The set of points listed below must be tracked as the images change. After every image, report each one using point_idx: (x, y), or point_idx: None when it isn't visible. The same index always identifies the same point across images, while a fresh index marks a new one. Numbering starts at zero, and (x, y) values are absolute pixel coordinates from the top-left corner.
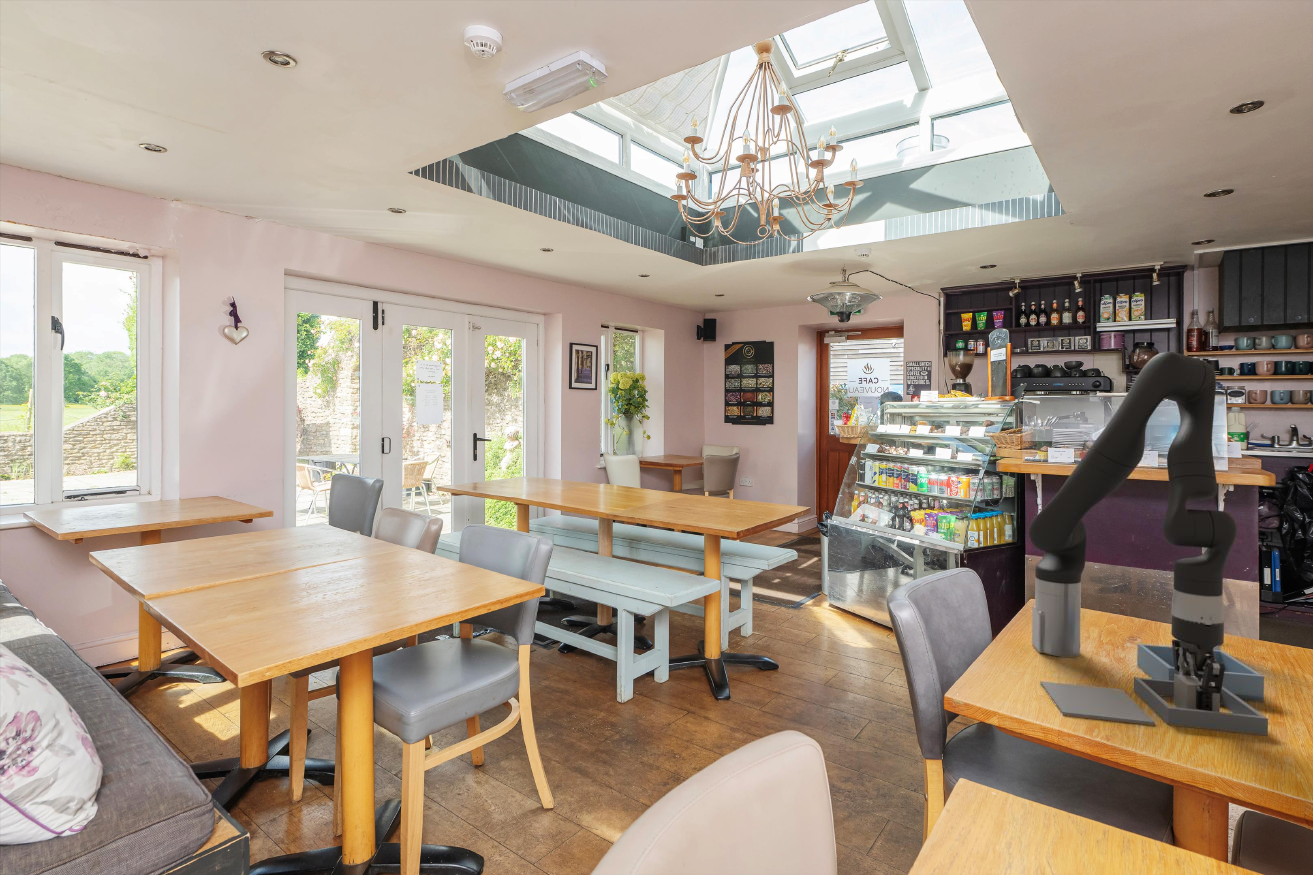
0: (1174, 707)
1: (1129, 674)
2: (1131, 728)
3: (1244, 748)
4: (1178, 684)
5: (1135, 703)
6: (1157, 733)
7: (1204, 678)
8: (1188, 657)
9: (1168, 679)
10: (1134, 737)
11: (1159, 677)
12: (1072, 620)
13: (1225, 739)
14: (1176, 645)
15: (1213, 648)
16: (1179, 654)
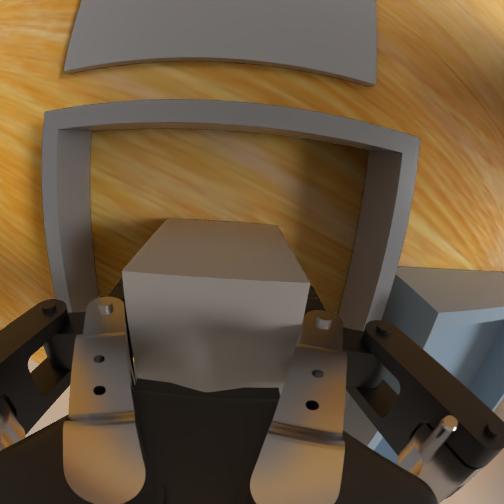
0: (56, 140)
1: (492, 219)
2: (52, 12)
3: (7, 266)
4: (240, 260)
5: (225, 55)
6: (27, 70)
7: (5, 343)
8: (91, 442)
9: (412, 287)
10: (14, 19)
11: (451, 278)
12: None
13: (32, 248)
14: (462, 437)
15: (496, 413)
16: (417, 405)
